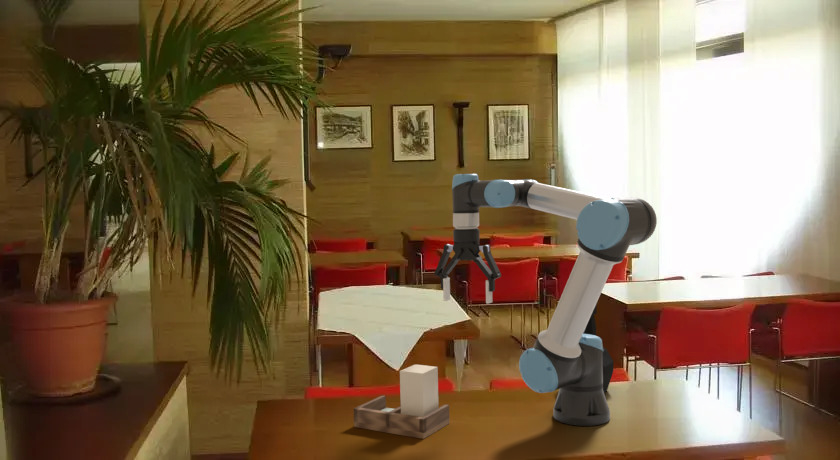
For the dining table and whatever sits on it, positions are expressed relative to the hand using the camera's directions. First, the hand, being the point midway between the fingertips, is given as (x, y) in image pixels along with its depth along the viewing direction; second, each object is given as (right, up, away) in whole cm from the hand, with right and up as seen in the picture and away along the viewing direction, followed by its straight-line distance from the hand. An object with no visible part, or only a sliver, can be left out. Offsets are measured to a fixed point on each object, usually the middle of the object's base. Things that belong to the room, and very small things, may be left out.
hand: (467, 301), depth 215 cm
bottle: (+38, -29, +17) cm, 51 cm away
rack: (-19, -32, -14) cm, 39 cm away
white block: (-14, -30, -15) cm, 37 cm away
